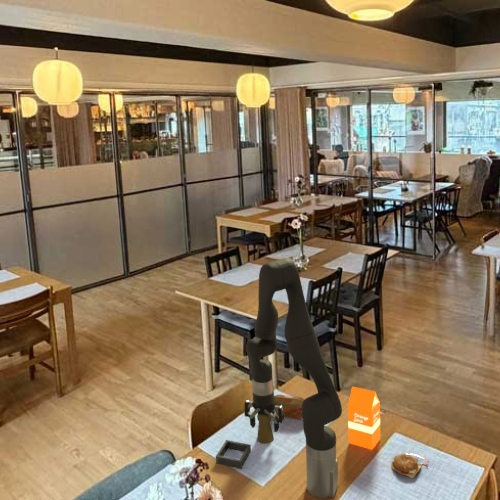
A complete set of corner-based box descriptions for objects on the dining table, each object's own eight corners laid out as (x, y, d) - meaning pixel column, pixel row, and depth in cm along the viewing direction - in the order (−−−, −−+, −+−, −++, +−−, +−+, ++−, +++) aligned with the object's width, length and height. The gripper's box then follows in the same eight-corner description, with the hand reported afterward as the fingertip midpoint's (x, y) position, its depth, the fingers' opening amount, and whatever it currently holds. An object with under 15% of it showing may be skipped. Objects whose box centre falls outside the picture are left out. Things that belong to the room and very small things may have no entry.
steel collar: (251, 452, 190) (250, 444, 189) (241, 469, 182) (240, 461, 181) (226, 447, 194) (226, 439, 193) (216, 463, 185) (215, 456, 184)
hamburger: (422, 489, 170) (423, 473, 168) (381, 471, 179) (382, 456, 177) (440, 464, 180) (441, 449, 178) (400, 448, 189) (401, 434, 187)
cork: (274, 433, 199) (273, 407, 196) (273, 444, 194) (272, 417, 190) (257, 433, 200) (256, 407, 197) (256, 444, 194) (255, 417, 191)
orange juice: (357, 432, 199) (356, 382, 194) (380, 439, 194) (380, 387, 189) (348, 443, 192) (347, 391, 188) (372, 450, 187) (371, 396, 183)
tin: (269, 415, 210) (268, 396, 208) (271, 411, 213) (270, 392, 211) (307, 420, 206) (307, 401, 204) (309, 416, 209) (308, 396, 206)
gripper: (240, 391, 190) (242, 431, 195) (279, 398, 185) (280, 438, 190) (247, 380, 197) (250, 419, 202) (285, 386, 192) (286, 426, 197)
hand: (264, 428), depth 196 cm, fingers open, 8 cm apart
